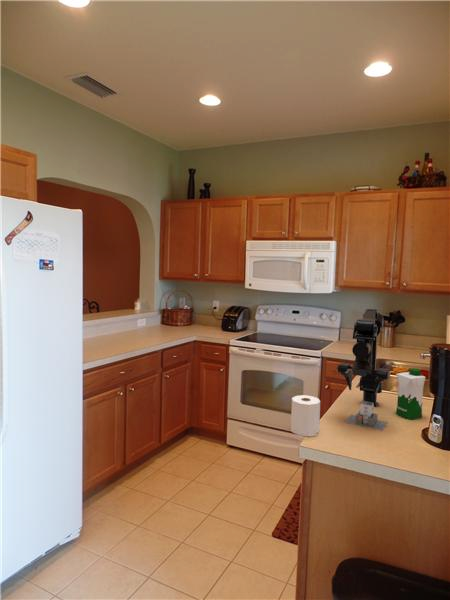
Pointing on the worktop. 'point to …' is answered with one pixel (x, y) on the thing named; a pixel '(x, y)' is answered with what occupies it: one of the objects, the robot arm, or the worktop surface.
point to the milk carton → (410, 394)
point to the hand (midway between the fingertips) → (362, 392)
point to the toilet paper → (305, 415)
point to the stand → (371, 422)
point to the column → (366, 411)
